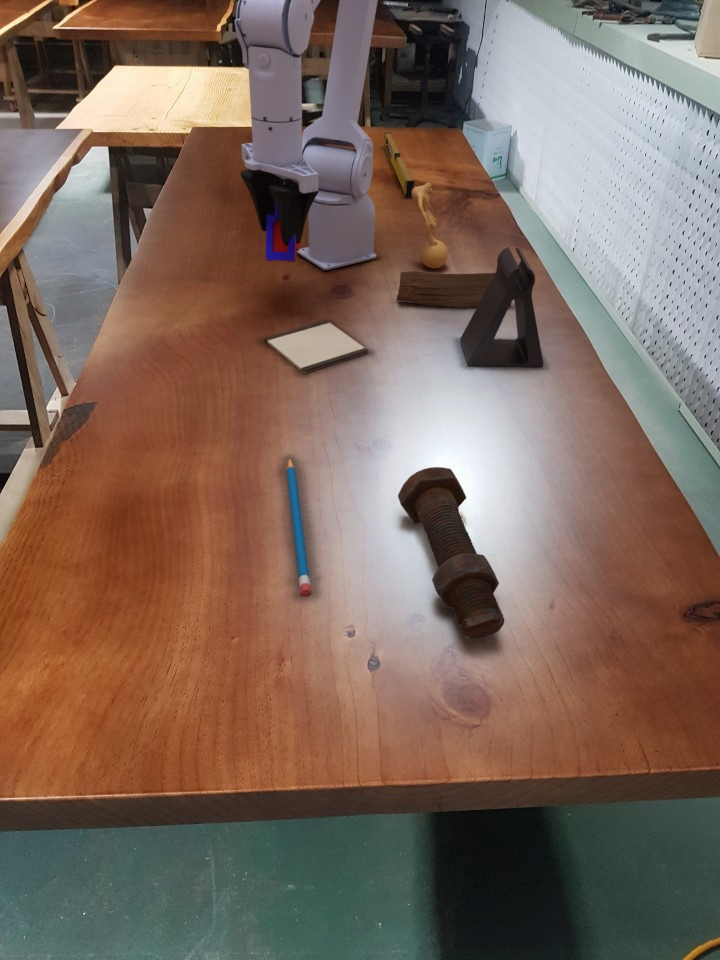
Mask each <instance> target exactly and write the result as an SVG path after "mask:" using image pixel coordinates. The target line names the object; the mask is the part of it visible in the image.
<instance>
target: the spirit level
mask: <svg viewBox="0 0 720 960" xmlns="http://www.w3.org/2000/svg"><path fill="white" fill-rule="evenodd" d="M384 141H385V143H386V144H388V145H386V144H385V143H384V142H383V143H384V144H383V148H384V149H385V151H386V154H387V156H388V158H389V160H390V163H391V165H392V168H393V169H394V172H395V174H396V177H397V179H398V181H399V183H400V186H401V188H402V190H403V193H404V195H405V199H413V198H412V190H413V188H415V180H413V178H412V176H411V174H410V171H409V169H408V167H407V165H406V163H405V161H404V159H403V157H401V153H400V151H399V148H398V146H397V144H396V143H395V140H394V138H393V136H392V132H385V133H384ZM388 147H389V148H388ZM389 149H390V150H389Z"/></svg>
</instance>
